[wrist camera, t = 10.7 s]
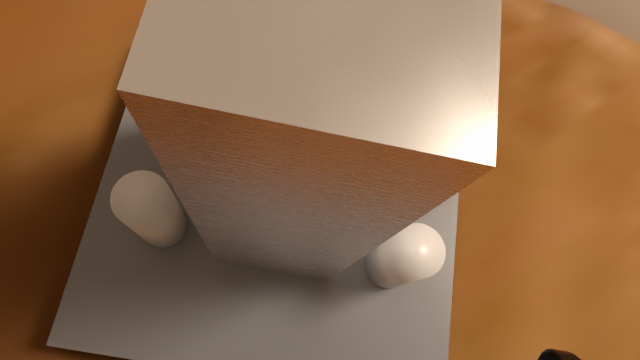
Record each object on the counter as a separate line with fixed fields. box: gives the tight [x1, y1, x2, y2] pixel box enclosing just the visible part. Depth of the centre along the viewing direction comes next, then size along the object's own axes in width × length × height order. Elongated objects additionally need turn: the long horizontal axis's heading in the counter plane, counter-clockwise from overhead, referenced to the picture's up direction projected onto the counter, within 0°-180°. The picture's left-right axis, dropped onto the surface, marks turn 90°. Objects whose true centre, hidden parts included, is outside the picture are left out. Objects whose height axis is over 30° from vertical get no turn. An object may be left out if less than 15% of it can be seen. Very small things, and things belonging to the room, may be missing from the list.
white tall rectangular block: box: [117, 0, 502, 280], centre depth 11 cm, size 5×4×12 cm
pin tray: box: [46, 107, 459, 360], centre depth 16 cm, size 12×13×5 cm
